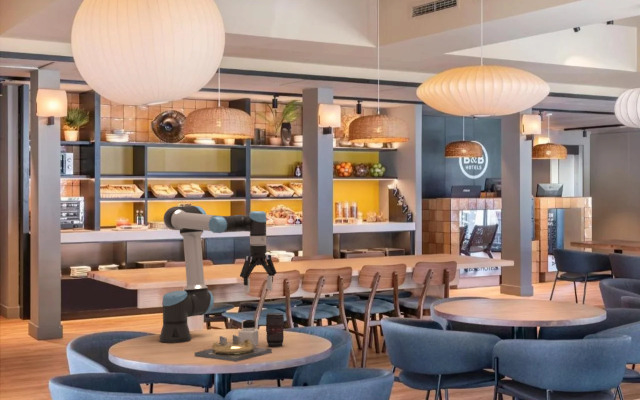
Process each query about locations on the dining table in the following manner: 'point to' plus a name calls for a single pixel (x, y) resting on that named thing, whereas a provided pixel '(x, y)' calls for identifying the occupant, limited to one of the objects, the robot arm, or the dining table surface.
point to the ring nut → (232, 346)
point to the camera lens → (274, 329)
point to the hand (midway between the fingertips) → (258, 291)
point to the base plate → (233, 357)
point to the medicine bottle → (249, 332)
